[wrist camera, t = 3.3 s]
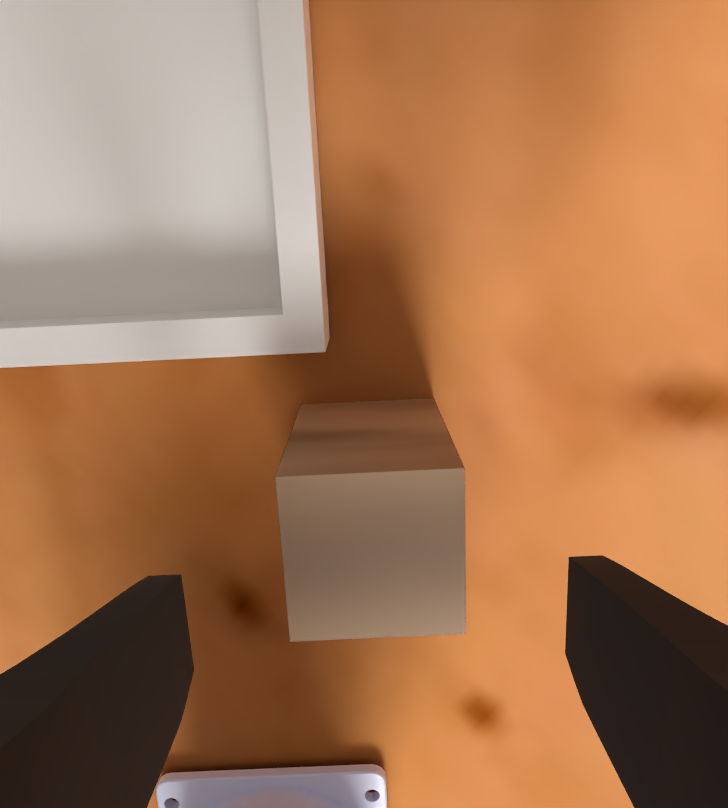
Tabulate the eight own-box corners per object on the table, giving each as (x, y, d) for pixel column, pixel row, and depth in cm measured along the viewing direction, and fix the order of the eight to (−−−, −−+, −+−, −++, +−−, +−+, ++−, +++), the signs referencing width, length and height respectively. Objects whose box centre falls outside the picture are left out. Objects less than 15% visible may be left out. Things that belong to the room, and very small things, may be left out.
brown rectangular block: (436, 519, 20) (465, 633, 14) (310, 525, 20) (290, 641, 14) (433, 397, 19) (464, 468, 13) (301, 404, 19) (275, 476, 13)
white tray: (329, 337, 19) (325, 351, 16) (-144, 360, 19) (-218, 378, 16) (293, -249, 15) (280, -341, 13) (-290, -215, 15) (-413, -301, 13)
